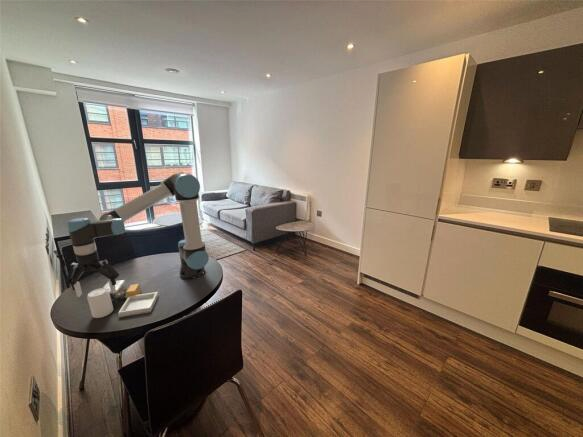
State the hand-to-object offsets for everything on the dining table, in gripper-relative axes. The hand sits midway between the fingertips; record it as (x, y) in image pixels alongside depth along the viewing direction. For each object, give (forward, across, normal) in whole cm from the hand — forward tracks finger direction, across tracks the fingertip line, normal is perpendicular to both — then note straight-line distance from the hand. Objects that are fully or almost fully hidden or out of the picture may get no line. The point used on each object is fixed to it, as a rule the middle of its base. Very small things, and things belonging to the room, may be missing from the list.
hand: (96, 293), depth 110 cm
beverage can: (+12, 0, 0) cm, 12 cm away
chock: (+11, -10, -13) cm, 20 cm away
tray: (+11, -16, -2) cm, 20 cm away
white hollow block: (+11, -2, -11) cm, 16 cm away
